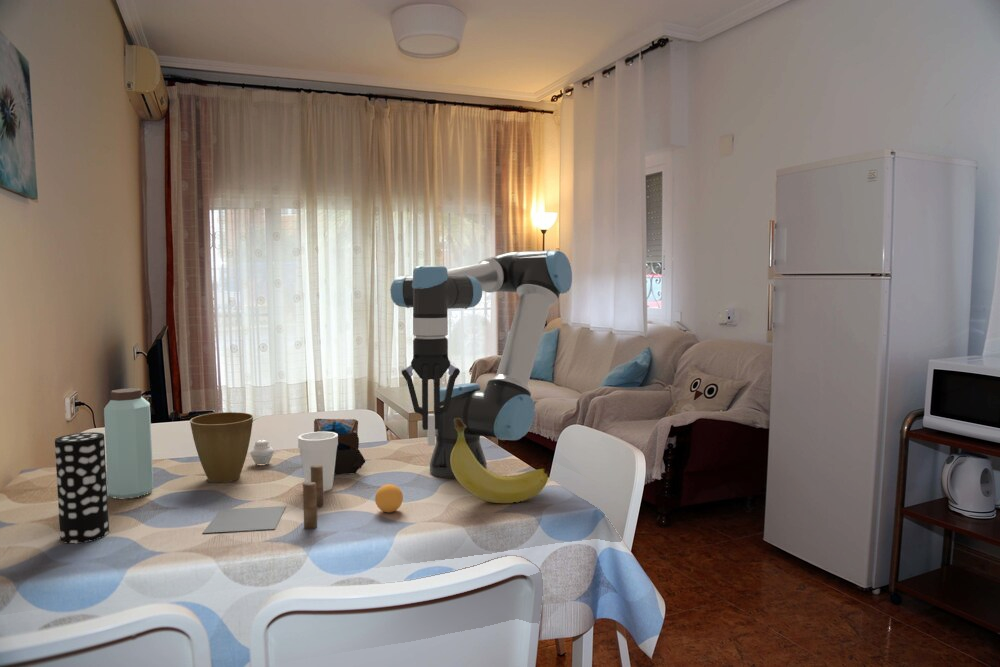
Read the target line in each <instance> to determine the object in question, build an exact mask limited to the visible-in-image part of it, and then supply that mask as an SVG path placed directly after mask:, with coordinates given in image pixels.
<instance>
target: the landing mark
mask: <svg viewBox="0 0 1000 667" xmlns="http://www.w3.org/2000/svg"><path fill="white" fill-rule="evenodd" d="M286 507H287V506H286V505H282V506H279V505H277V506H262V507H261V506H259V507H246V508H244V507H243V508H227V509H225V508H224V509H219V511H218V512H217V513H216V514H215V516H214V517H213V518H212V520H211V521H210V523H209V524H208V525H207V526H206V527H205V529H204V530H203V531H202V534H203V533H210V534H218V533H217V532H226V533H238V532H239V531H241V533H242V531H243V532H255V531H257V532H258V531H274V530H276V528H277V526H278V524H279V522H280V520H281V518H282V517H283V516H282V515H283V514H284V512H285V510H286ZM236 531H238V532H236ZM215 532H216V533H215ZM239 533H240V532H239ZM203 535H204V534H203Z"/></svg>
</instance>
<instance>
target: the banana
mask: <svg viewBox="0 0 1000 667" xmlns="http://www.w3.org/2000/svg"><path fill="white" fill-rule="evenodd" d="M454 424H455V429H456V430H457V432H458V438H457V442H456V444H455V446H454V448H453V450H452V452H451V457H450V464H451V469H452V472H453V474H454V476H455V477H456V478H455V479H456V481H457V482H458V483H459V484H460V485H461V486H462V487H463V488H464V489H466V491H468V492H469V493H471V494H472V495H474V496H476V497H477V498H479V499H481V500H483V501H485V502H489V503H494V504H495V503H496V504H514V503H513V502H516V503H521V502H525V501H527V500H530V499H532V498H534V497H535V496H538V494H540V492H542V490H543V489H544V488H545V486H546V485H547V483H548V479H549V475H550V474H549V472H548V471H547V469H546V468H538V469H534V470H531V471H530V470H529V471H527V472H523V473H521V474H520V473H519V474H515V475H502V474H496V473H495V472H491V471H489V470H488V468H487V469H485V468H484V467H483V466H482V465H481V464H480V463H479V462H478V461H477V459H476V458H475V456H474V455H473V453H472V452H471V450H470V448H469V447H468V445H467V444H466V441H465V438H464V429H465V428H466V425H465V424H463V422H462V419H461V418H454ZM520 501H521V502H520Z"/></svg>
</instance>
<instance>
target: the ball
mask: <svg viewBox="0 0 1000 667" xmlns="http://www.w3.org/2000/svg"><path fill="white" fill-rule="evenodd" d="M403 499H404V495H403V492H402V490H401V489H400V487H398V486H397V485H395V484H390V483H387V484H385V485H382V486H381V487H379V488H378V489H377V491H376V493H375V496H374V500H375V505H376V507H377V508H378V509H379V510H380V511H381V512H385V513H393V512H396V511H397V510H398V509H400V507H401V505H402V503H403V501H404V500H403Z"/></svg>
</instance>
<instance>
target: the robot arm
mask: <svg viewBox="0 0 1000 667" xmlns="http://www.w3.org/2000/svg"><path fill="white" fill-rule="evenodd" d="M572 283H573V271H572V266H571V263H570V260H569V258H568V256H567V255H566V253H564V252H563V251H561V250H551V249H546V250H528V251H527V250H524V251H523V250H522V251H521V250H520V251H519V250H518V251H511V252H506V253H503V254H502V253H501V254H499V255H495V256H491V257H485V258H483V259H481V260H480V261H478V263H475V264H470V265H466V266H459V267H453V268H449V269H448V268H447V267H446V266H442V265H417V266H415V267H414V268H413V272H412V275H403V276H398V277H395V279H393V281H392V283H391V285H390V290H389V291H390V298H391V300H392V302H393V303H394V304H395V306H397V307H400V308H407V309H410V308H412V316H413V317H412V335H413V336H414V338H413V340H412V348H413V349H412V350H413V351H412V354H413V356H412V360H411V362H410V364H409V366H406V367H405V368H402V369H401V375H402V376H403V378H404V379H405V380H406V384H407V388H408V392H409V395H410V396H409V397H410V400H411V403H412V407H413V412H414V413H416V414H420V415H421V416H422V418H421V421H422V422H421V424H422V426H421V428H422V430H423V431H425V430H426V431H427V446H434V448H433V453H432V456H431V458H430V461H429V472H430V474H431V475H433V476H435V477H438V478H444V479H456V477H455V476H454V474H453V472H452V469H451V464H450V457H451V452H452V450H453V448H454V446H455V444H456V442H457V438H458V432H457V430H456V429H455V424H454V418H461V419H462V422H463V424H465V425H466V428H465V429H464V438H465V441H466V444H467V445H468V447H469V448H470V450H471V452H472V453H473V455H474V456H475V458H476V459H477V461H478V462H479V463H480V464H481V465H482V466H483V467H484V468H485V469H487V470H488V468H487V467H488V466H487V459H486V457H485V454H484V453H485V452H484V450H483V447H482V445H481V437H485V438H491V439H498V440H500V441H506V440H507V441H518V440H520V439H522V438H523V437H525V436H526V435H527V434H528V432H529V431H530V430H531V427H532V426H533V424H534V420H535V415H536V411H535V409H536V405H535V402H534V400H533V398H532V397H531V395H532V391H530V389H529V386H528V385H529V382H530V378H531V374H532V371H533V367H534V364H535V361H536V357H537V354H538V350H539V347H540V344H541V340H542V336H543V333H544V329H545V325H546V322H547V319H548V315H549V312H550V309H551V307H552V306H554V305H557V303H558V300H559V297H560V294H561V295H562V294H565V293H566V294H567V293H568V292H569V291H570V289H571V288H572ZM483 292H485V293H490V294H491V293H496V292H506V293H516V294H517V295H518V297H519V299H518V303H517V306H516V308H515V309H516V310H515V313H514V316H513V319H512V322H511V326H510V329H509V331H508V335H507V338H506V342H505V345H504V348H503V352H502V354H501V359H500V361H499V365H498V367H497V370H496V374H495V376H494V377H492V378H490V379H489V380H488V381H487V384H486V387H485V388H484V389H485V390H481V387H480V384H479V383H476V382H472V383H471V382H470V383H460V384H455V382H456V379H457V377H458V376H459V375H460V373H461V370H460V368H458V367H456V366H454V365H452V364H451V361H450V359H449V346H448V345H449V340H448V338H447V337H446V336H448V334H449V330H448V328H449V326H448V324H449V322H448V321H449V319H448V317H449V316H448V314H449V313H448V312H449V311H448V310H452V309H454V310H455V309H465V310H466V309H469V308H474V307H476V306H477V305H479V304H480V301H481V299H482V297H483ZM413 370H414V372H415V373H416V375H417V376H418V377H419V378H420V379H421V406H420V405H419V404H420V403H419V401H418V397H417V393H416V390H415V385H414V381H413V378H412V376H413V375H414V374H413V373H414V372H413ZM447 371H448V375H449V377H448V380H447V384H446V386H442V387H441V379H442V378H443V376H444V375H445V374H446V372H447ZM429 380H433V413H429Z"/></svg>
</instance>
